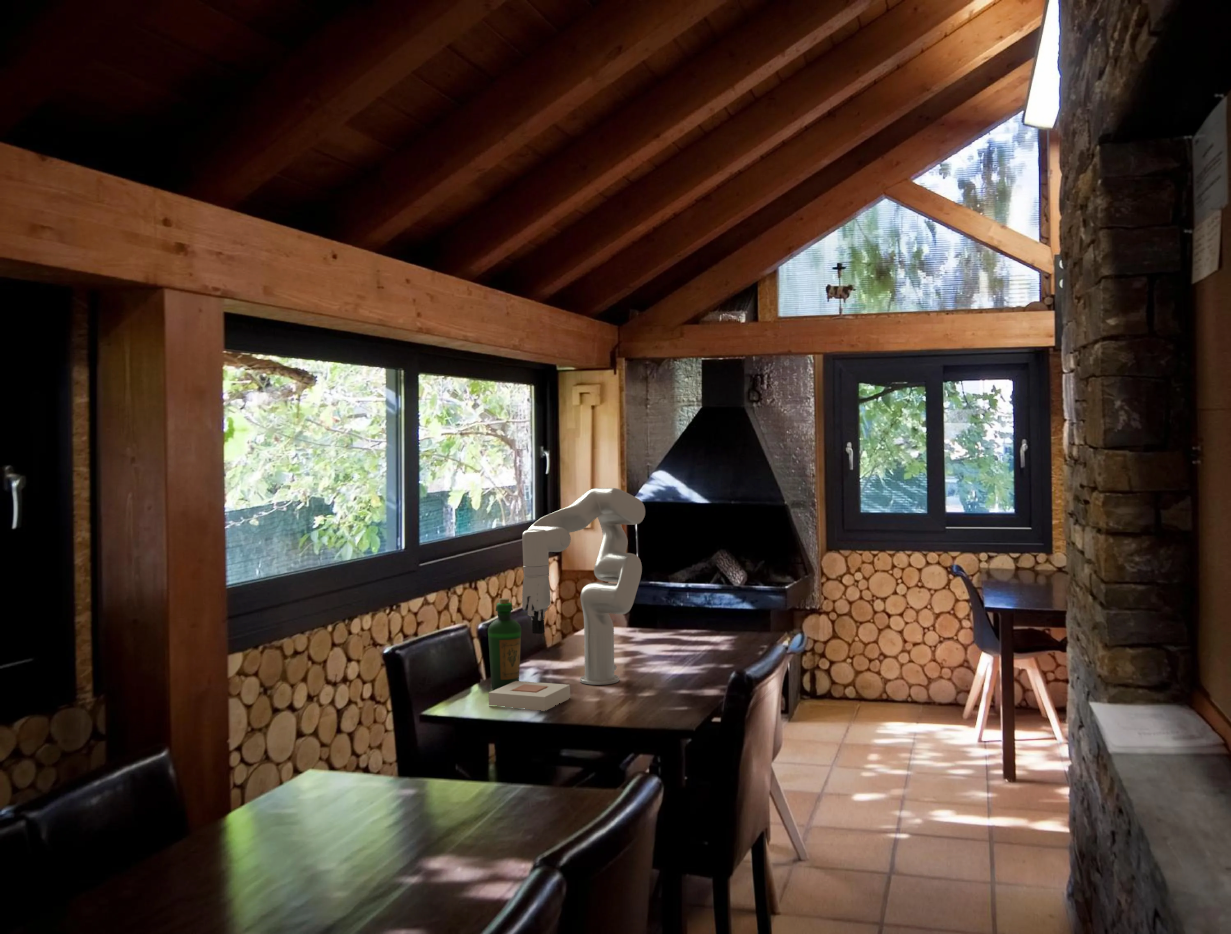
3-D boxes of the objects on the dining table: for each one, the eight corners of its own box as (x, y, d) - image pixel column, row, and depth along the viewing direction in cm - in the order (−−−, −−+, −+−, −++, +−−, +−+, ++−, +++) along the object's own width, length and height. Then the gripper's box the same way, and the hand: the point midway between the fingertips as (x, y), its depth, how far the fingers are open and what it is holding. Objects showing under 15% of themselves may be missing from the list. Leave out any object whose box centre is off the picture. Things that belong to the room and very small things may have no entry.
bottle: (516, 692, 313) (515, 601, 313) (483, 691, 315) (482, 600, 315) (526, 685, 324) (525, 596, 324) (494, 684, 326) (493, 596, 326)
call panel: (516, 694, 311) (516, 680, 311) (570, 698, 304) (569, 684, 304) (488, 706, 295) (488, 692, 295) (544, 711, 289) (544, 696, 289)
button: (524, 697, 305) (524, 684, 305) (547, 699, 302) (547, 686, 302) (512, 703, 298) (512, 689, 298) (535, 705, 295) (535, 691, 295)
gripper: (536, 567, 310) (538, 627, 310) (513, 574, 296) (515, 637, 297) (558, 568, 307) (561, 628, 307) (536, 575, 293) (538, 638, 294)
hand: (538, 633), depth 302 cm, fingers closed
